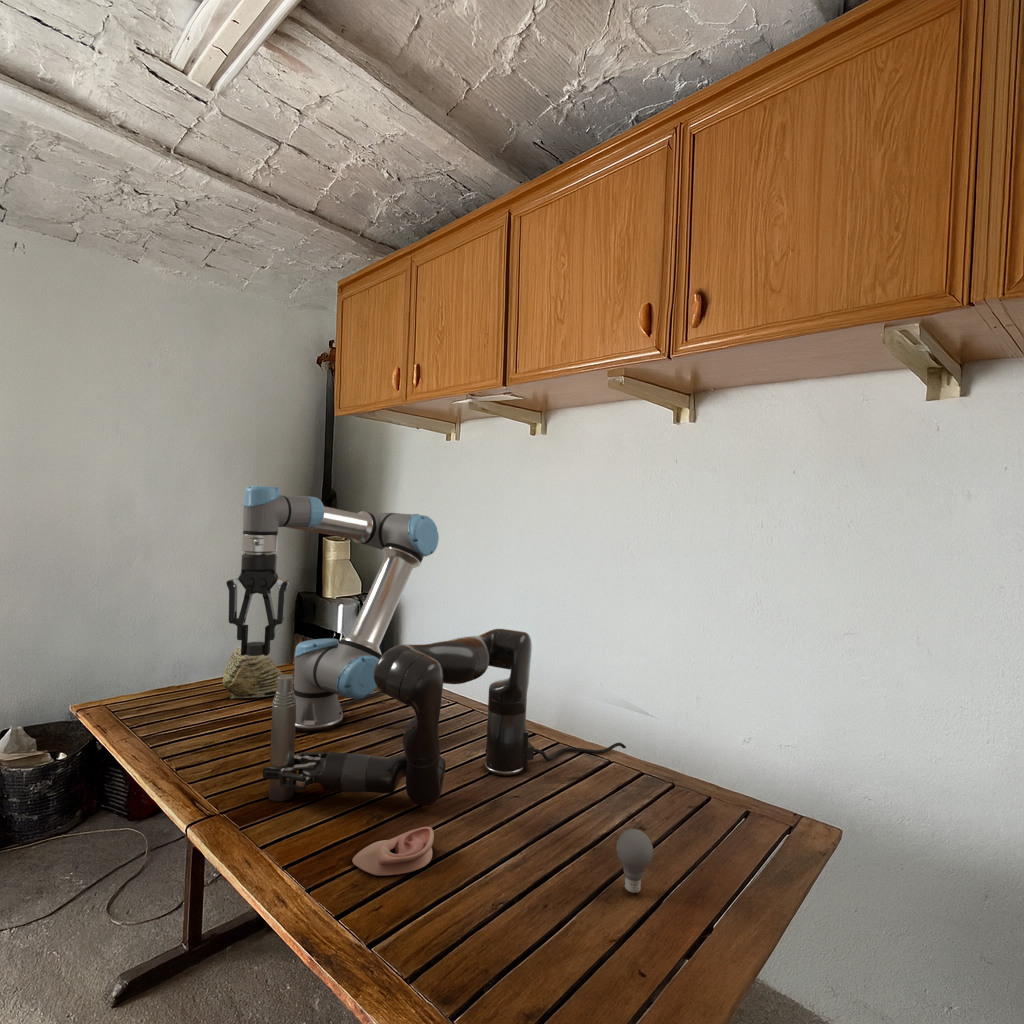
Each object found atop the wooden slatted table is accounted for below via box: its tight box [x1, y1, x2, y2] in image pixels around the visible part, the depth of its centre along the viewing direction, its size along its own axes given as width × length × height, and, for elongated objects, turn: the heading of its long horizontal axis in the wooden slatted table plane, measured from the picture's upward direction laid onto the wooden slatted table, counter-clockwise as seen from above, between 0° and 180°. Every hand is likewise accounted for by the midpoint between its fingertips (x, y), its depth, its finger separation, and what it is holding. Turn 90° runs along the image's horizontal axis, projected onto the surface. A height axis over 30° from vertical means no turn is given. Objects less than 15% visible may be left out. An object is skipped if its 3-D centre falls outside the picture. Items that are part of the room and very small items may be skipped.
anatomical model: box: [351, 826, 435, 877], centre depth 112 cm, size 13×4×12 cm
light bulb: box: [615, 828, 654, 894], centre depth 106 cm, size 6×6×10 cm
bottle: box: [268, 673, 296, 802], centre depth 133 cm, size 5×5×25 cm
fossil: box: [222, 646, 283, 699], centre depth 198 cm, size 9×18×15 cm, turn 132°
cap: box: [245, 641, 265, 656], centre depth 146 cm, size 4×4×2 cm
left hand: (255, 653), depth 146 cm, fingers closed on cap, 4 cm apart
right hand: (269, 767), depth 133 cm, fingers closed on bottle, 5 cm apart
